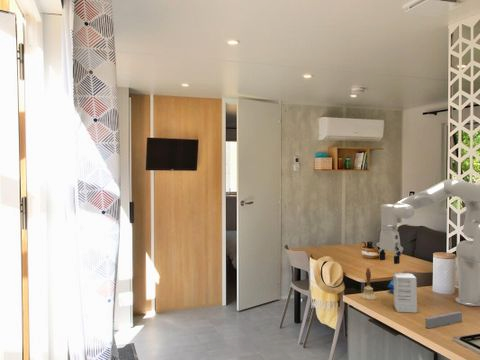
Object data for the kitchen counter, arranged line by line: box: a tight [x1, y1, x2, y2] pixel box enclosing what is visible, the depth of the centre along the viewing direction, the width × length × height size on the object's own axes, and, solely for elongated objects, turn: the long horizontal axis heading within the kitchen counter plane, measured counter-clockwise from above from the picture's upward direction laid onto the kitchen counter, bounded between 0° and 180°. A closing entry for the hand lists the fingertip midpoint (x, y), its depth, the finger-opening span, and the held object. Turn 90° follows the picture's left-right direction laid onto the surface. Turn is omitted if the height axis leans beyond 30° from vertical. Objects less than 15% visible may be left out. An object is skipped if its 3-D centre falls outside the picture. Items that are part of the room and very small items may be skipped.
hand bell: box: [360, 267, 377, 301], centre depth 215 cm, size 8×8×16 cm
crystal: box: [387, 279, 394, 294], centre depth 222 cm, size 7×9×12 cm
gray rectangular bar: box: [424, 311, 463, 329], centre depth 175 cm, size 20×2×4 cm, turn 112°
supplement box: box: [392, 272, 418, 314], centre depth 195 cm, size 10×9×17 cm
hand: (389, 261), depth 202 cm, fingers open, 9 cm apart
